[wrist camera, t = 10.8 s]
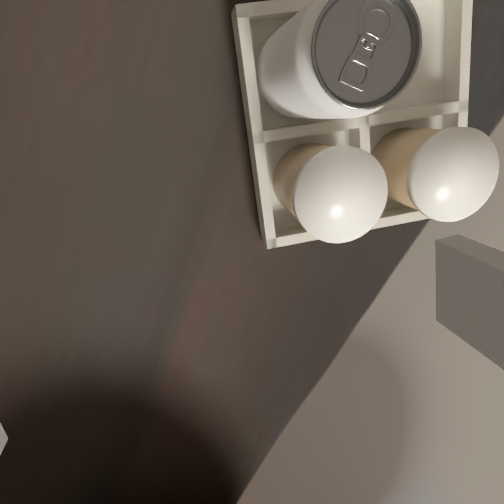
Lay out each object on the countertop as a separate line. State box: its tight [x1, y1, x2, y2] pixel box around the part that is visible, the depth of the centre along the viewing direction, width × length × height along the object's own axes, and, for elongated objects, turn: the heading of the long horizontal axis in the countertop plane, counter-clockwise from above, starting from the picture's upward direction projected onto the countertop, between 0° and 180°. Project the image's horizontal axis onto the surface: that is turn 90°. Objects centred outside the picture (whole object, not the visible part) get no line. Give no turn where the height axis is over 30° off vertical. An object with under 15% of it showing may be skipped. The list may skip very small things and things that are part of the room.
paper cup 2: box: [371, 127, 499, 222], centre depth 31 cm, size 6×6×7 cm
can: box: [257, 0, 422, 119], centre depth 25 cm, size 6×6×12 cm
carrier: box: [231, 0, 473, 249], centre depth 32 cm, size 17×17×2 cm
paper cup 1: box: [273, 143, 388, 243], centre depth 30 cm, size 6×6×7 cm
